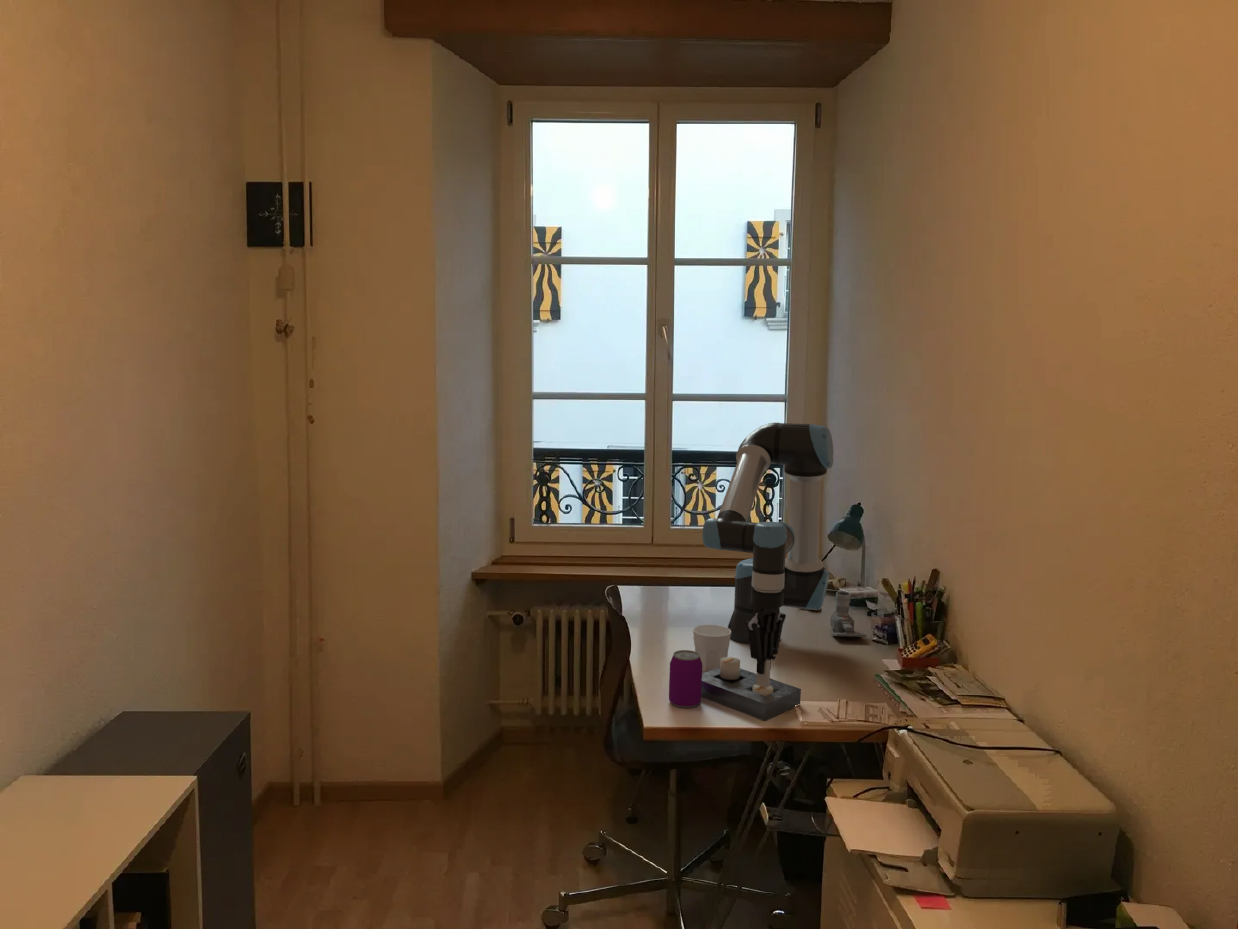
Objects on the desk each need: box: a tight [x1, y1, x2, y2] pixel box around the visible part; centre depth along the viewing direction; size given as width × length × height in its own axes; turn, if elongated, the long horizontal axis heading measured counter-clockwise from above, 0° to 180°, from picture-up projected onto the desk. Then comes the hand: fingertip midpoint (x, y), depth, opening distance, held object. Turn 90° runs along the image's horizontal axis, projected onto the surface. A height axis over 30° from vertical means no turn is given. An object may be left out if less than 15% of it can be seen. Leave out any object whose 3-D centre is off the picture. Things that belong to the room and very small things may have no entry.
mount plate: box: [701, 667, 802, 722], centre depth 211 cm, size 14×22×4 cm, turn 44°
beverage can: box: [668, 649, 703, 709], centre depth 207 cm, size 8×8×12 cm
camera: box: [830, 590, 867, 638], centre depth 262 cm, size 9×12×15 cm
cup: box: [692, 624, 731, 672], centre depth 232 cm, size 10×10×10 cm
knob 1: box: [720, 656, 741, 680], centre depth 214 cm, size 5×5×4 cm
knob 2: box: [752, 684, 773, 696], centre depth 207 cm, size 5×5×4 cm
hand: (762, 685), depth 207 cm, fingers closed
